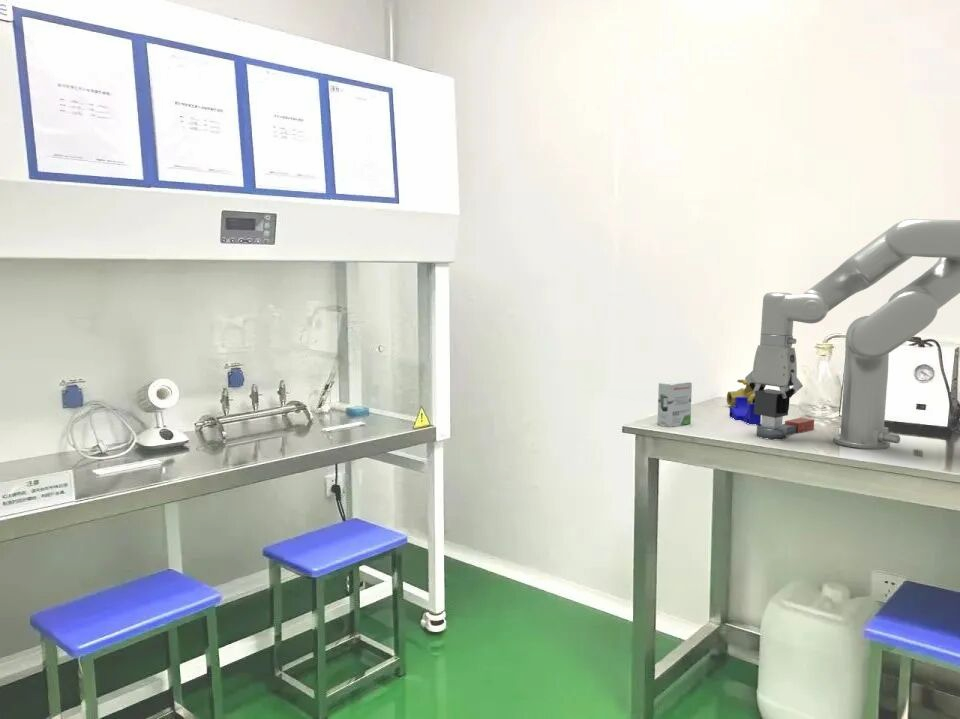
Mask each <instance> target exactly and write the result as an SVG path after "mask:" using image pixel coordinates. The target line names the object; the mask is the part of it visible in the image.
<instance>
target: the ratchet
mask: <svg viewBox="0 0 960 719" xmlns="http://www.w3.org/2000/svg"><path fill="white" fill-rule="evenodd" d="M783 417H784V416H782V417H776V418H774V417H768V416H763V415H761V423H760V425H756V435H757V436H756V437H758V436H759V437H758V438H760V437H762V438H761V439H764V438H768V439H767V440H774V439H780V440H785V438H786V439H787V436H789V434H790V435H794V434H799V432H800V433H804V432H803V431H805V432H808V430H809V431H813V430H815V419H811V418H806V417H798V418H792V419H788V420H785V421H784V423H783V420H784V419H783ZM793 433H794V434H793Z"/></svg>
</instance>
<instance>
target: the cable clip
mask: <svg viewBox="0 0 960 719" xmlns="http://www.w3.org/2000/svg"><path fill="white" fill-rule="evenodd" d="M728 416H730V418H731V417H732V418H731V419H733V418H734V419H735V420H734V419H733V420H734V421H736V420H742V421H741V422H743V421H744V422H743V423H745V422H746V423H745V424H747V423H749V424H756V425H755V426H757V425H760V424H762V415H757V414H754V403H749V405H748V402H747V397H735V406H729V415H728ZM749 424H748V425H749Z"/></svg>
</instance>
